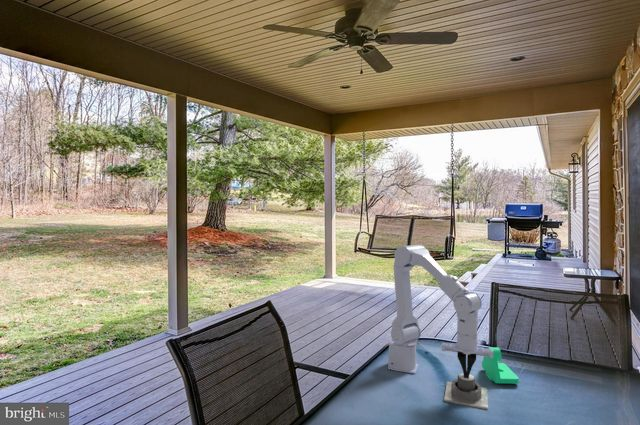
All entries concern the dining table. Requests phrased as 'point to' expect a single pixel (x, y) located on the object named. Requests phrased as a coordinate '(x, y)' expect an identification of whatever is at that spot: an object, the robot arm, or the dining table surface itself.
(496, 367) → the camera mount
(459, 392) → the white square plate
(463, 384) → the gray cylindrical peg
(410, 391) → the dining table surface
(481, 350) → the robot arm
